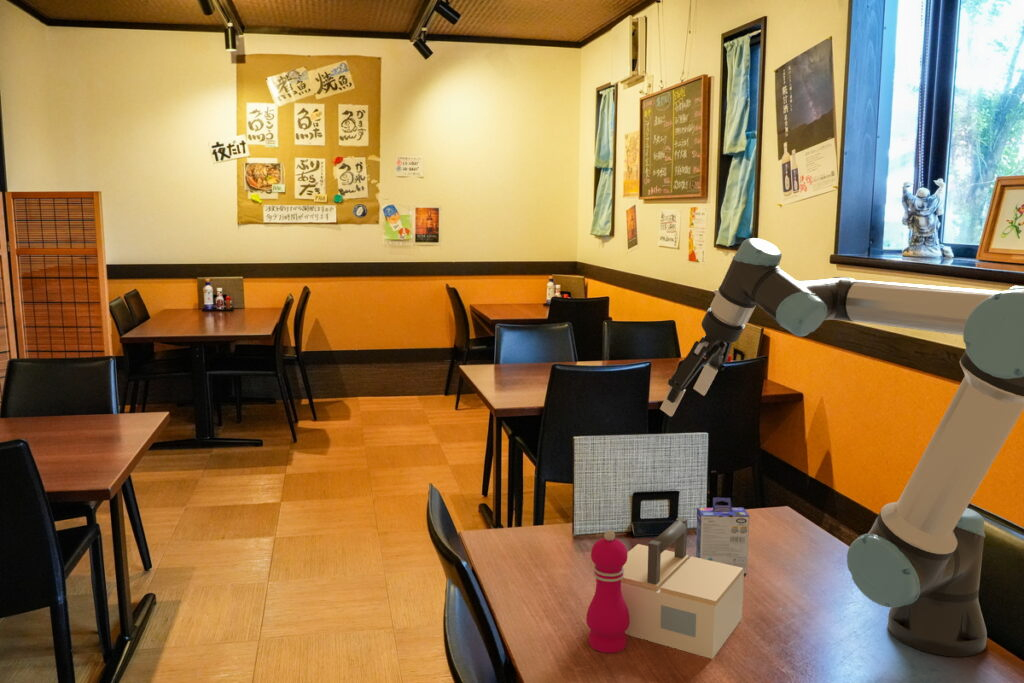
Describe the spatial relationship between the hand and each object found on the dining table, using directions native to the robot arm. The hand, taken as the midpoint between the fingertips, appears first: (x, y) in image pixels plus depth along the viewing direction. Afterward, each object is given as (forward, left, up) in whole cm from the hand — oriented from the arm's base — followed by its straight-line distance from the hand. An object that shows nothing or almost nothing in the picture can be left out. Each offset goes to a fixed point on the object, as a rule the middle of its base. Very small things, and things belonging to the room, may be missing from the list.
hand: (683, 401), depth 170 cm
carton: (-9, +26, -34) cm, 43 cm away
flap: (-4, +26, -25) cm, 36 cm away
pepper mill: (-2, +38, -34) cm, 51 cm away
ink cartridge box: (-9, -1, -34) cm, 35 cm away
